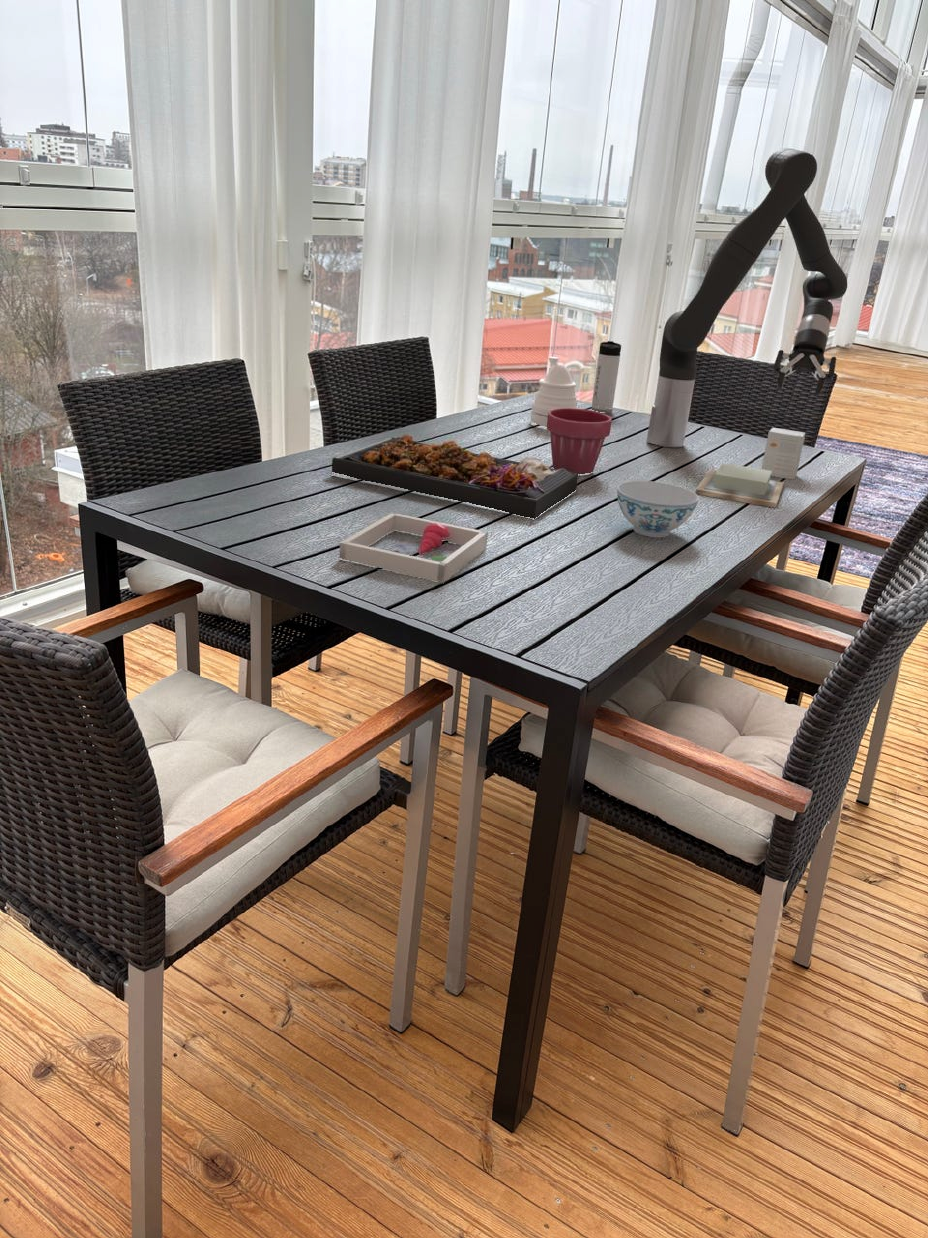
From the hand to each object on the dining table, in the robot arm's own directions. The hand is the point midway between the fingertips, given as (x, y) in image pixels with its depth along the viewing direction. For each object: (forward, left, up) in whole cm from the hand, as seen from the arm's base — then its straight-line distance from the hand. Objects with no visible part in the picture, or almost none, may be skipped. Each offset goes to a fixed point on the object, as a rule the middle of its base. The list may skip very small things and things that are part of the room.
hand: (798, 390), depth 231 cm
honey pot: (-61, +3, -19) cm, 64 cm away
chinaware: (-18, -75, -19) cm, 80 cm away
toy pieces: (-50, -111, -19) cm, 124 cm away
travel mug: (-55, +33, -19) cm, 67 cm away
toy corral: (-50, -112, -18) cm, 124 cm away
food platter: (-61, -69, -19) cm, 94 cm away
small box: (0, -11, -19) cm, 22 cm away
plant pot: (-43, -41, -19) cm, 63 cm away
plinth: (-7, -32, -18) cm, 38 cm away
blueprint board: (-7, -32, -18) cm, 38 cm away
